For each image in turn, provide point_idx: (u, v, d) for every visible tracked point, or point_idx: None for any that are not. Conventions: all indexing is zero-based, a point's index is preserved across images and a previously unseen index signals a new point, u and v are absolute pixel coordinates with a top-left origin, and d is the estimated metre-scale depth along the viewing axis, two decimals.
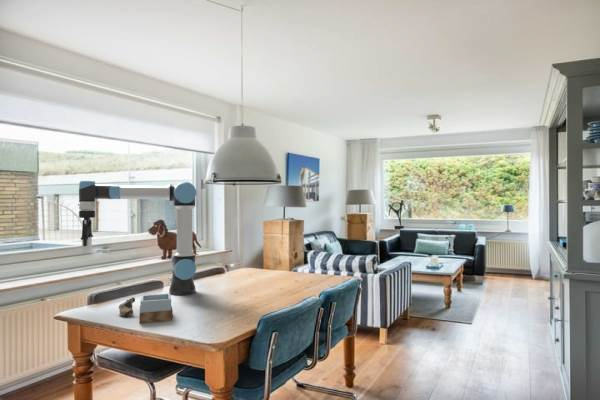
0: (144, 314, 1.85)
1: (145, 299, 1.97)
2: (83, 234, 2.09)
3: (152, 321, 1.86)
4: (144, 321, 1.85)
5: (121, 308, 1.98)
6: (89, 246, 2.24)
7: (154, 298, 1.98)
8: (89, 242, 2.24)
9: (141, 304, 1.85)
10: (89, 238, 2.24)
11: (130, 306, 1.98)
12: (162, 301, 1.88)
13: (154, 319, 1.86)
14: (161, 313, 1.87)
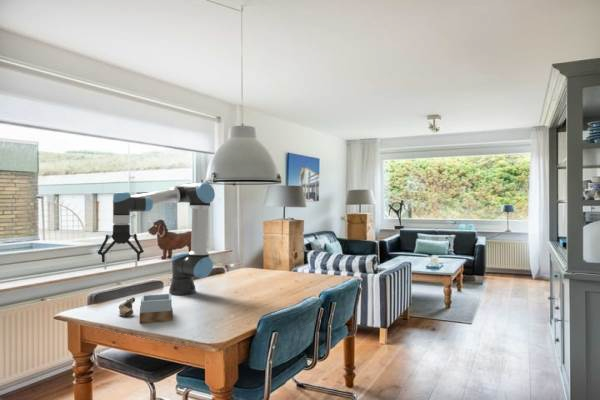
0: (144, 314, 1.85)
1: (146, 299, 1.97)
2: None
3: (152, 321, 1.86)
4: (144, 321, 1.85)
5: (121, 308, 1.98)
6: (135, 264, 2.03)
7: (155, 298, 1.98)
8: (135, 259, 2.03)
9: (141, 304, 1.85)
10: (135, 255, 2.03)
11: (130, 306, 1.98)
12: (162, 301, 1.88)
13: (154, 319, 1.86)
14: (161, 313, 1.87)
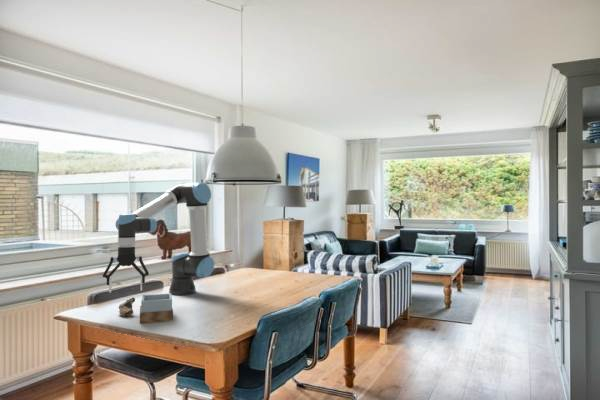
0: (144, 314, 1.85)
1: (146, 299, 1.97)
2: (104, 272, 1.96)
3: (152, 321, 1.86)
4: (144, 321, 1.85)
5: (120, 308, 1.98)
6: (140, 287, 2.01)
7: (155, 298, 1.98)
8: None
9: (142, 304, 1.85)
10: None
11: (130, 306, 1.98)
12: (163, 301, 1.88)
13: (154, 319, 1.86)
14: (161, 313, 1.87)
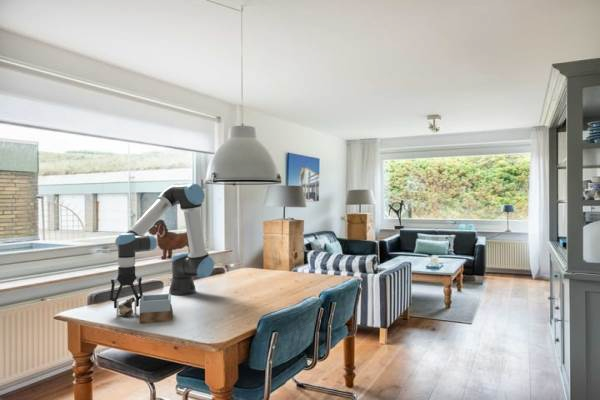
0: (144, 314, 1.85)
1: (146, 299, 1.97)
2: (110, 295, 1.97)
3: (152, 321, 1.86)
4: (144, 321, 1.85)
5: (120, 308, 1.98)
6: None
7: (155, 298, 1.98)
8: None
9: (140, 304, 1.85)
10: None
11: (130, 306, 1.98)
12: (161, 301, 1.88)
13: (154, 319, 1.86)
14: (161, 313, 1.87)
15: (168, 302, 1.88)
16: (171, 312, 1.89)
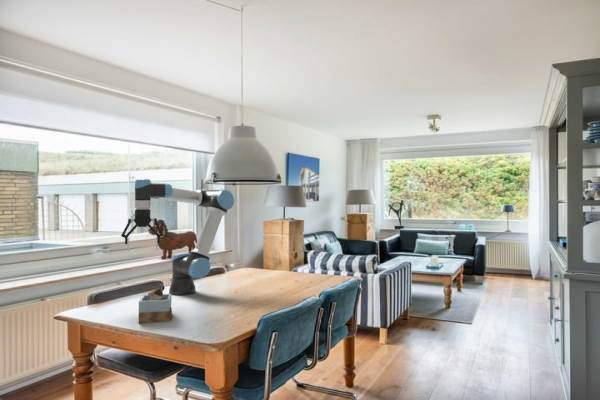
0: (143, 314, 1.85)
1: (146, 299, 1.97)
2: None
3: (151, 321, 1.86)
4: (143, 321, 1.85)
5: (151, 296, 1.92)
6: None
7: None
8: None
9: (139, 304, 1.85)
10: None
11: (161, 294, 1.92)
12: (160, 301, 1.87)
13: (153, 320, 1.86)
14: (160, 313, 1.87)
15: (167, 302, 1.88)
16: (170, 312, 1.89)
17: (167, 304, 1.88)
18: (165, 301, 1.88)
